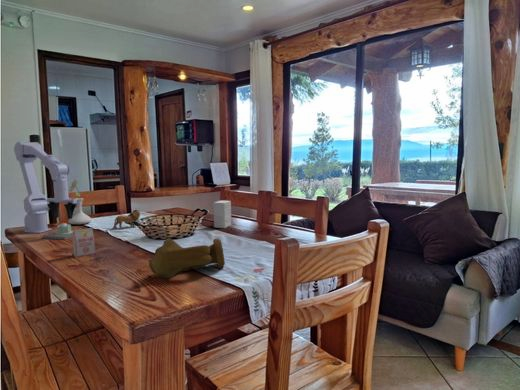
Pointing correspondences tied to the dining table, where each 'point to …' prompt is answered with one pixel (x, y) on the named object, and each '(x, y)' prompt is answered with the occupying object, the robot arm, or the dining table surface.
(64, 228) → the ring
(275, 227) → the dining table surface
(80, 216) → the flower in vase
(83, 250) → the grey printed carton
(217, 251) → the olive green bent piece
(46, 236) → the post stand
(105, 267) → the dining table surface
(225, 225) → the small box
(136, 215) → the lion figurine
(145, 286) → the dining table surface
